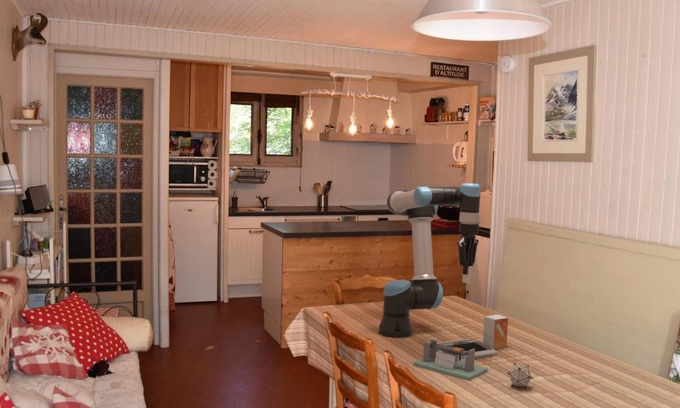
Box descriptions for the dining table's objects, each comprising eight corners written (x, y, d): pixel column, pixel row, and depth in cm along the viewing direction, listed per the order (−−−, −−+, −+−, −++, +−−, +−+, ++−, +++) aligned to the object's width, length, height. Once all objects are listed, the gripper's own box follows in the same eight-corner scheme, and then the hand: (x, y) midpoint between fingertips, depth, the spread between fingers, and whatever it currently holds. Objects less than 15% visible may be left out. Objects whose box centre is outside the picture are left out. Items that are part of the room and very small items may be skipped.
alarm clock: (472, 338, 283) (498, 345, 268) (472, 349, 283) (498, 357, 268) (439, 342, 275) (464, 350, 260) (439, 353, 275) (464, 362, 260)
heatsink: (434, 368, 250) (435, 351, 249) (447, 363, 257) (447, 346, 256) (453, 373, 245) (453, 356, 244) (465, 367, 252) (466, 351, 251)
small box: (493, 350, 276) (494, 319, 275) (482, 346, 281) (483, 316, 280) (507, 347, 280) (508, 317, 279) (495, 343, 285) (497, 314, 284)
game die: (513, 395, 234) (501, 368, 239) (535, 387, 235) (523, 360, 239) (516, 391, 226) (504, 363, 230) (540, 382, 227) (526, 355, 231)
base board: (413, 365, 253) (414, 342, 252) (432, 357, 264) (433, 335, 263) (469, 380, 238) (470, 355, 237) (487, 371, 248) (488, 347, 248)
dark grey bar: (427, 347, 255) (427, 343, 255) (431, 345, 258) (431, 341, 257) (465, 356, 245) (465, 351, 245) (469, 354, 247) (469, 350, 247)
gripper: (469, 224, 253) (466, 286, 254) (485, 222, 263) (482, 281, 264) (452, 223, 257) (449, 283, 259) (468, 221, 267) (466, 278, 269)
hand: (466, 282), depth 262 cm, fingers closed
